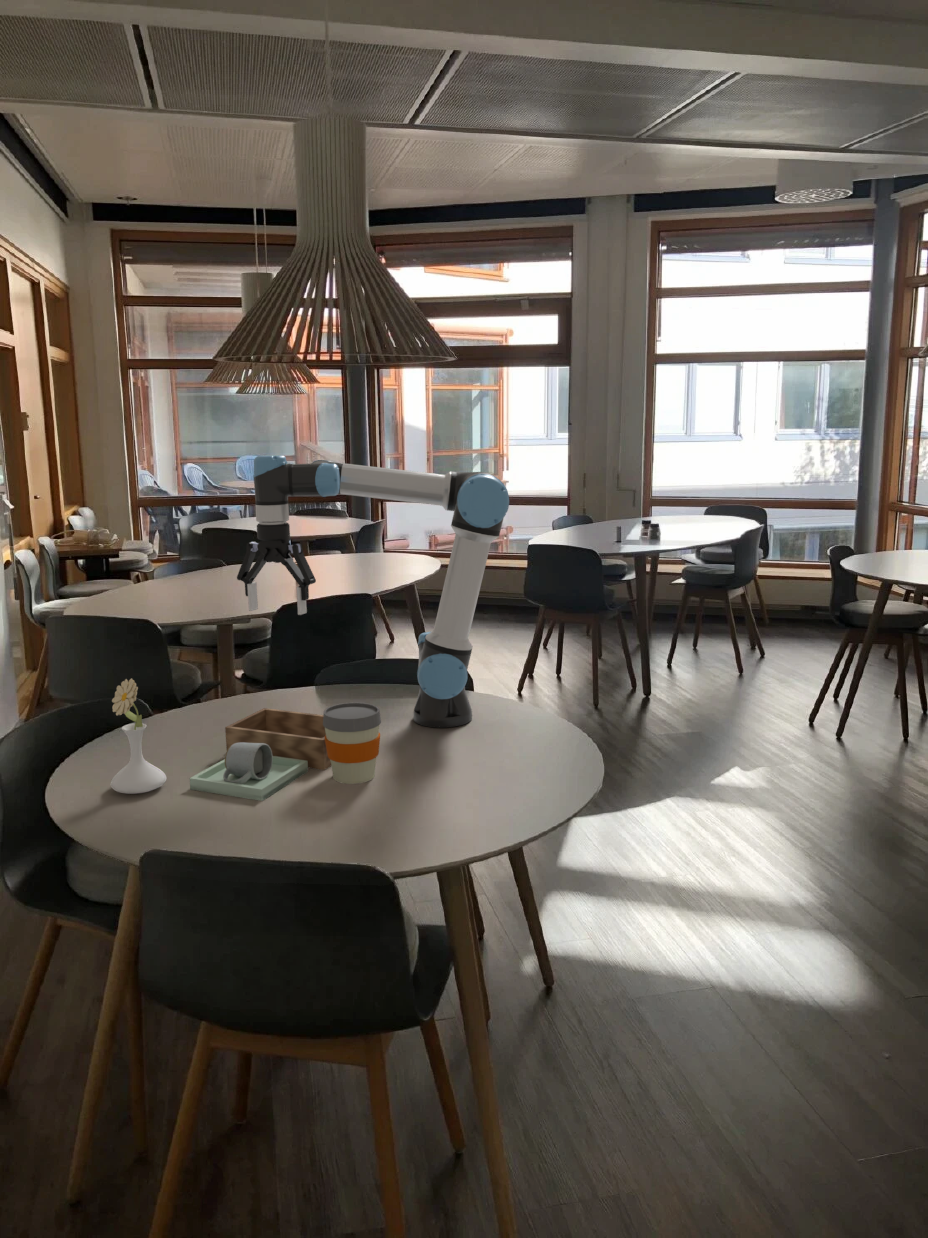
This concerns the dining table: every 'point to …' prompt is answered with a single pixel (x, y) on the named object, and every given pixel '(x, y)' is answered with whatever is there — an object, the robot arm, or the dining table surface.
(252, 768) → the ceramic mug
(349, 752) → the reusable coffee cup
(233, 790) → the sage tray
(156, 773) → the flower in vase
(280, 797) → the dining table surface
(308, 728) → the walnut box frame
